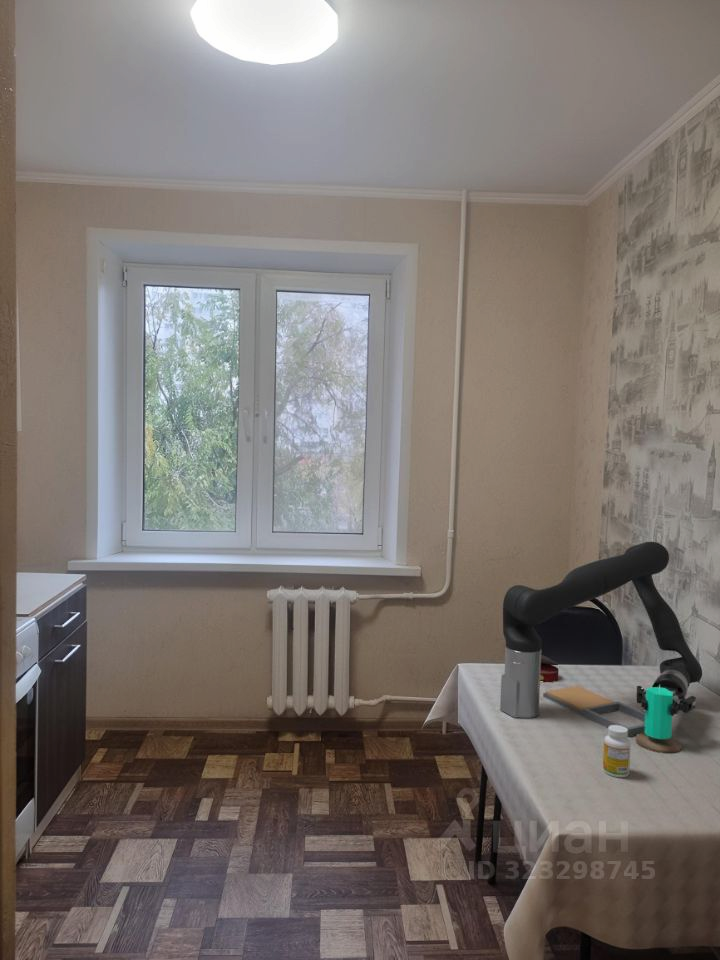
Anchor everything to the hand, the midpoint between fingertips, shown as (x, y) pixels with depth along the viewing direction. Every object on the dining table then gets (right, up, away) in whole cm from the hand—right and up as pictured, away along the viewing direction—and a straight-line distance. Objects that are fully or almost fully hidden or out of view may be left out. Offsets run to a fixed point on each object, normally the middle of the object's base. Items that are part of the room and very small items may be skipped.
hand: (658, 708), depth 166 cm
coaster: (+1, -9, +3) cm, 10 cm away
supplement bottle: (-15, -10, -13) cm, 22 cm away
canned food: (-15, -7, +50) cm, 53 cm away
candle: (+1, -7, +3) cm, 8 cm away
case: (-6, -8, +23) cm, 25 cm away
